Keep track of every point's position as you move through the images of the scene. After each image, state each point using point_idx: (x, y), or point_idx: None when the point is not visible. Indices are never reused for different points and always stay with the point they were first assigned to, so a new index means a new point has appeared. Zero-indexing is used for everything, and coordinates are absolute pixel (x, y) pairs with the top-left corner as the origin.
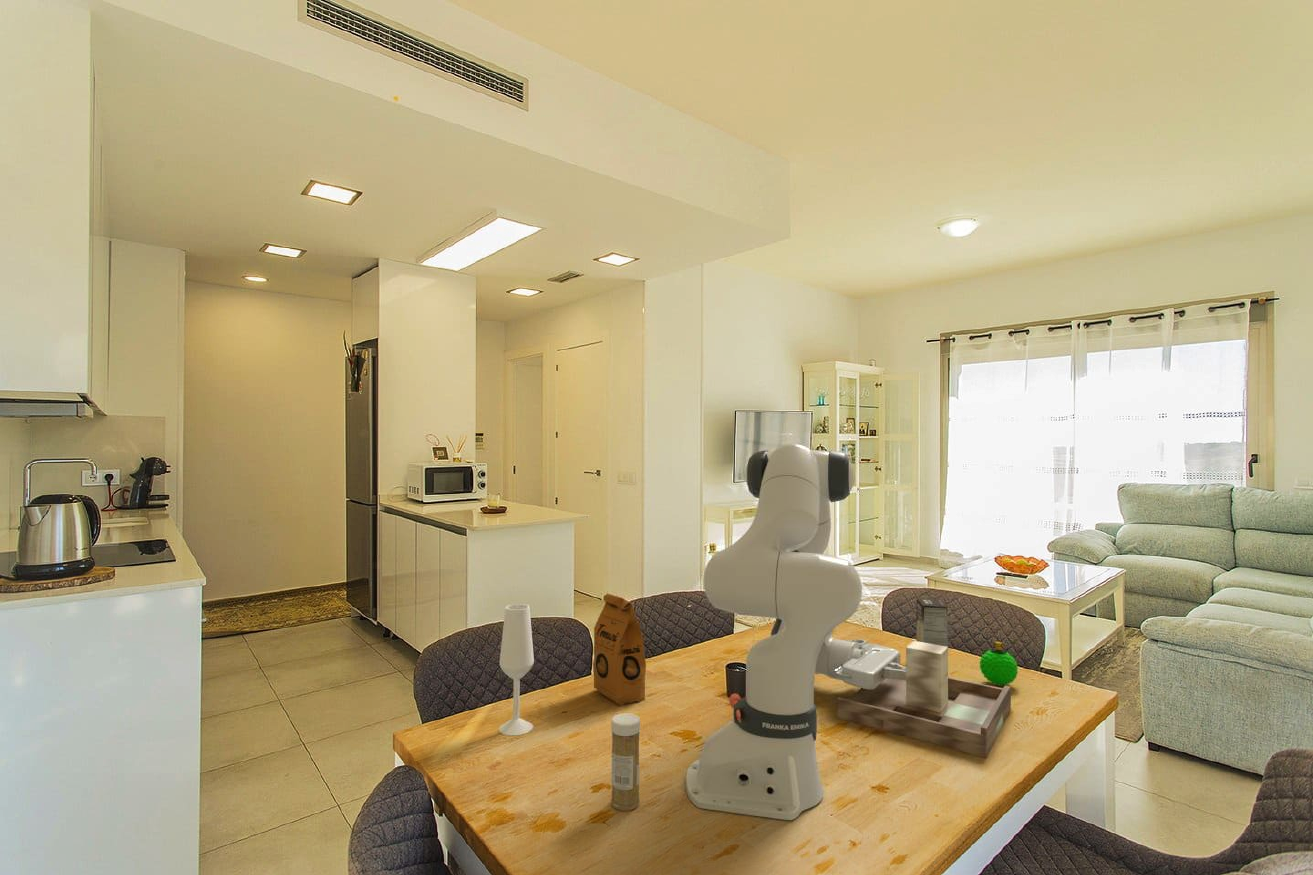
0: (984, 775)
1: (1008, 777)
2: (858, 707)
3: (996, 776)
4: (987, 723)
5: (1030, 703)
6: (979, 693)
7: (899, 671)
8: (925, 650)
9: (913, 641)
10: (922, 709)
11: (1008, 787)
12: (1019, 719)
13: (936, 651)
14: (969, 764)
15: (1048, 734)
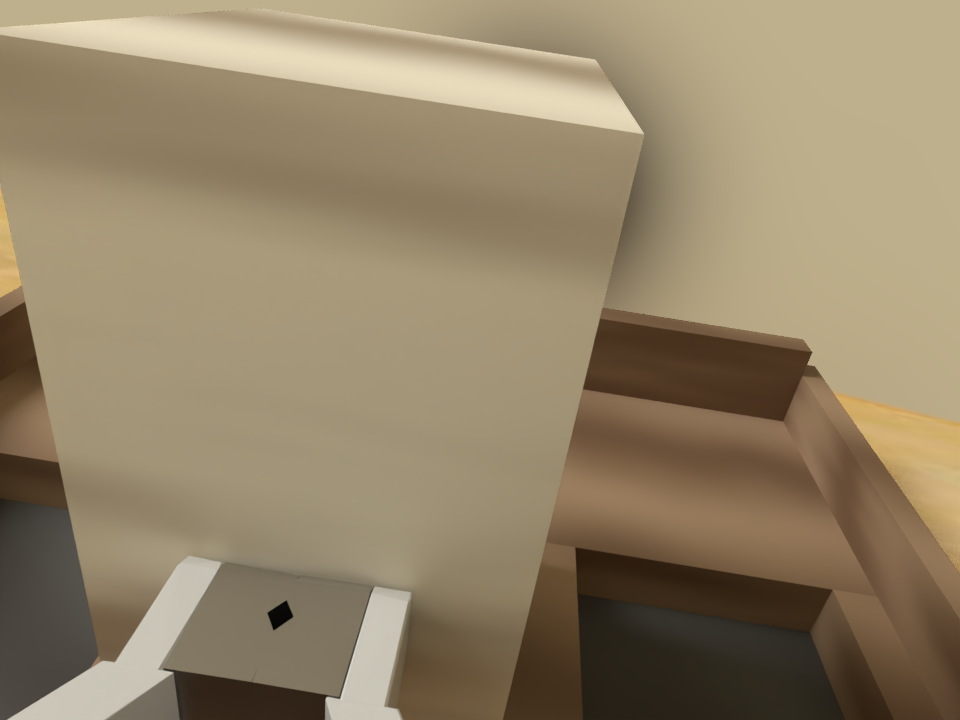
0: (940, 465)
1: (864, 413)
2: None
3: (900, 438)
4: (736, 332)
5: (6, 291)
6: (7, 374)
7: (386, 716)
8: (583, 77)
9: (39, 43)
10: (521, 676)
11: (938, 420)
12: None
13: (531, 56)
14: (910, 500)
15: None
